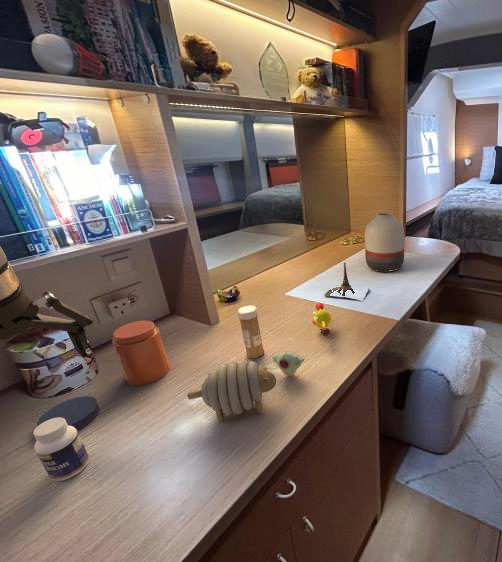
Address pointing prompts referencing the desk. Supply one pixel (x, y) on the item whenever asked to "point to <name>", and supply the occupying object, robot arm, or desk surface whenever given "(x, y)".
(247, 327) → the sprinkles bottle
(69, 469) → the pill bottle
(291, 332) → the desk surface
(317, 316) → the toy figure
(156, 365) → the jar
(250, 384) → the toy sheep
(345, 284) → the eiffel tower figurine
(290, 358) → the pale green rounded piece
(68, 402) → the jar lid
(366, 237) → the vase
